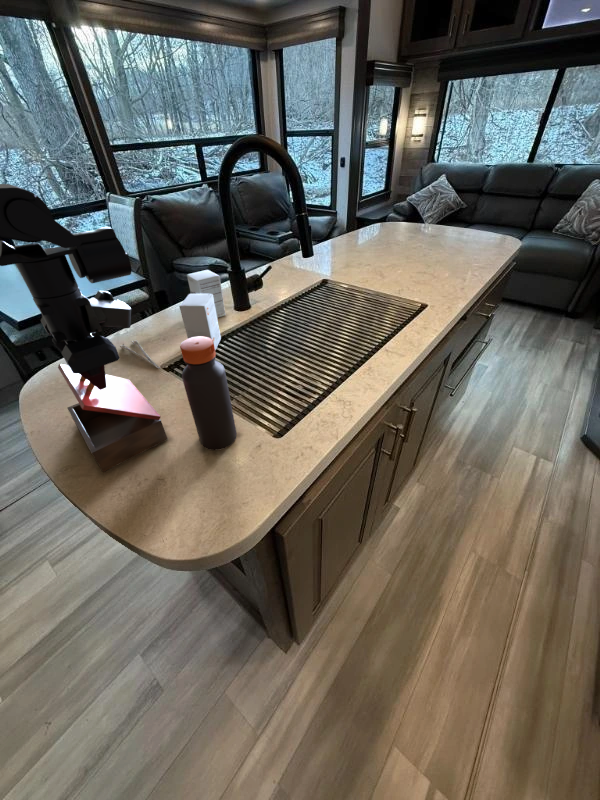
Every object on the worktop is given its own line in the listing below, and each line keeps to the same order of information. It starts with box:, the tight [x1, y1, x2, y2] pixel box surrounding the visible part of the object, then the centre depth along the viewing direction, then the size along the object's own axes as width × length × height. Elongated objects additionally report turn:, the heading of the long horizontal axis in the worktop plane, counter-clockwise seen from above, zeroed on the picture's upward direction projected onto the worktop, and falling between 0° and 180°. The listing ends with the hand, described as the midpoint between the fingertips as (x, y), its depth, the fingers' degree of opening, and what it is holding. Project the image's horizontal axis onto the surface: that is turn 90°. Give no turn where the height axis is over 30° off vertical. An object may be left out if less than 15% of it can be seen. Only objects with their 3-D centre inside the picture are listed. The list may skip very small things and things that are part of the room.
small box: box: [179, 293, 222, 351], centre depth 86 cm, size 8×6×13 cm
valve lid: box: [57, 363, 162, 420], centre depth 58 cm, size 12×16×5 cm
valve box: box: [67, 402, 169, 473], centre depth 62 cm, size 12×16×5 cm
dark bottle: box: [179, 336, 237, 451], centre depth 56 cm, size 7×7×20 cm
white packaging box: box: [186, 269, 227, 319], centre depth 101 cm, size 7×7×13 cm
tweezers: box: [119, 339, 161, 370], centre depth 85 cm, size 17×5×2 cm, turn 47°
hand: (98, 381), depth 56 cm, fingers closed on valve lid, 5 cm apart
